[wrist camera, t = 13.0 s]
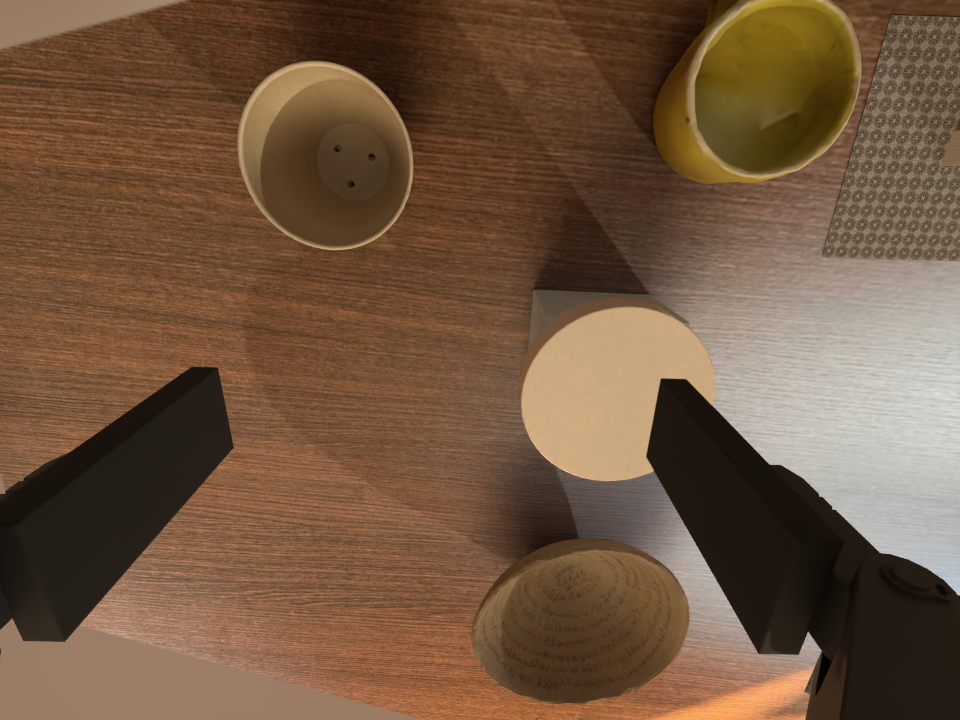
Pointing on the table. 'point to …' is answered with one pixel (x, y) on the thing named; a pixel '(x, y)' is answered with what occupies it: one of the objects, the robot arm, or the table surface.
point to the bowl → (580, 622)
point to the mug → (758, 91)
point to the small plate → (606, 384)
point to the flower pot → (325, 155)
